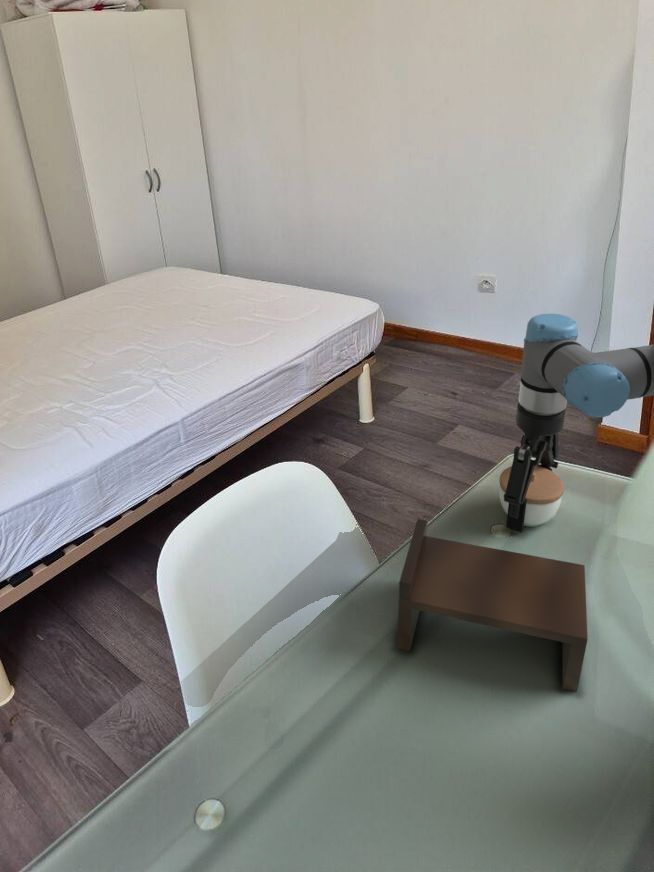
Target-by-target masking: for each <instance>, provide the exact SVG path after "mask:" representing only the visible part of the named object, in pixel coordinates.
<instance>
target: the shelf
mask: <svg viewBox="0 0 654 872" xmlns="http://www.w3.org/2000/svg"><path fill="white" fill-rule="evenodd" d="M427 531H428V520H426V519H420V518H417V519H416V522H415V526H414V529H413V533H412V536H411V540H410V543H409V547H408V549H407V550H408V551H407V554H406V557H405V561H404V564H403V568H402V571H401V575H400V577H399V583H398V584H399V585H398V612H397V613H398V614H397V615H398V616H397V646H396V647H397V650H401V651H405V652H411V648H412V645H413V641H414V635H415V632H416V627H417V623H418V619H419V615H420V612H424V613H428V614H432V615H438V616H441V617H446V618H451V619H456V620H461V621H463V622H464V621H465V622H470V623H473V624H477V625H478V624H479V625H483V626H487V627H492V628H496V629H501V630H506V631H511V632H515V633H519V634H524V635H529V636H533V637H538V638H543V639H547V640H551V641H555V642H560V643H562V689H563V690H566V691H567V690H568V691H571V692H575V693H577V692H578V690H579V684H580V679H581V676H582V675H581V674H582V669H583V664H584V661H585V660H584V659H585V654H586V650H587V644H588V640H589V636H588V615H587V614H588V612H587V611H588V609H587V590H586V589H587V588H586V566H585V564H580V563H575V562H569V561H564V560H558V559H553V558H548V557H542V556H537V555H531V554H525V553H521V552H516V551H509V550H504V549H500V548H499V549H498V548H494V547H487V546H482V545H477V544H472V543H466V542H461V541H455V540H451V539H444V538H439V537H434V536H428V535H427Z"/></svg>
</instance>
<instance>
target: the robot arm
mask: <svg viewBox="0 0 654 872" xmlns="http://www.w3.org/2000/svg"><path fill="white" fill-rule="evenodd" d="M578 337H579V334H578V324H577V322H576V320H575V319H574V318H572V317H570V316H568V315H566V314H565V315H563V314H561V313H541V314H537V315H534V316H532V317H531V318H530V319H529V320H528V321H527V325H526V331H525V337H524V339H523V351H522V358H521V359H522V360H521V361H522V362H521V370H520V371H521V372H520V380H519V381H517V384H516V385H517V387H519V391H518V403H517V406H516V414H515V424H516V425H517V427H518V428H519V429H520V430H521V431H522V432H523V433H524V434H523V435H522V437H521V439H520V446H515V447H514V449H513V459H512V463H511V466H512V467H511V466H510V467H511V472H510V476H509V480H508V484H507V488H506V493H505V494H504V501H506V502H508V503H509V506H508V515H507V514H506V523H505V524H506V525H505V527H506V528H508V529H509V530H512V531H515V532H517V533H520V534H522V532H523V531H524V526H525V525H524V518H525V510H526V503H527V500H525V497H526V494H527V491H528V487H529V484H530V481H531V478H532V475H533V472H534V469H535V466H540V467H543V468H546V469H548V470H550V471H552V472H553V469H558V466H559V462H558V461H555V460H557V459H558V458H559V433H560V432H561V431H562V430H563V429H564V424H565V418H566V408H567V405H568V403H569V405H571V406H573V407H575V408H576V409H578V410H580V411H581V412H582V413H584V414H585V415H587V416H589V417H592V418H606V417H609V416H611V415H612V414H613V413H614V412H618V411H620V409H622V407H624V406H625V404H626V402H627V401H628V400H635V399H641V398H644V397H653V396H654V343H653V344H649V345H648V344H647V345H643V346H642V345H641V346H635V347H626V348H621V349H620V348H619V349H612V350H604V351H598V352H594V351H591V350H589V349H588V348H587V347H584V346H583V345H582V344H581V343H579V342H578V341H577V338H578ZM532 458H534V459H532Z"/></svg>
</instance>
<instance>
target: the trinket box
mask: <svg viewBox="0 0 654 872" xmlns="http://www.w3.org/2000/svg"><path fill="white" fill-rule="evenodd" d="M511 467H512V465H511V466H509V467H507V468H505V469H504V470H503V471H502V472H501V473H500V474H499V487H498V488H499V490H498V494H499V501H500V505H501V508H502V510H503V511H504V512H505V514H506V516H507V515H508V506H509V503H508V502H506V501H504V494H505V493H506V488H507V484H508V480H509V476H510V472H511ZM564 491H565V483H564V481H563V479H561V477H560V476H559V475H558V474H557V473H555V472H554V471H553V470H552V471H550V470H548V469H546V468H543V467H540V466H535V469H534V472H533V475H532V478H531V481H530V484H529V487H528V491H527V494H526V497H525V500H527V503H526V510H525V518H524V526H525V527H538V526H540V525H543V524H546V523H547V522H549V521H551V520H552V519H553V518H554V517H555V515H556V514H557V513H558V511H559V509H560V506H561V503H562V501H563V495H564Z"/></svg>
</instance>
